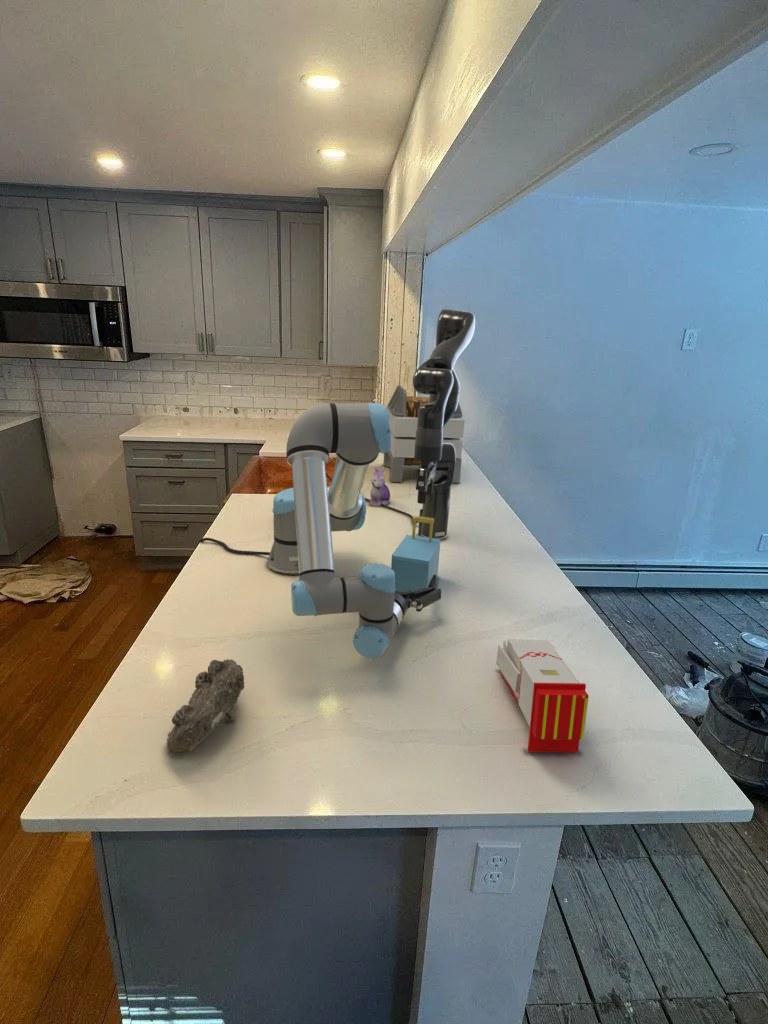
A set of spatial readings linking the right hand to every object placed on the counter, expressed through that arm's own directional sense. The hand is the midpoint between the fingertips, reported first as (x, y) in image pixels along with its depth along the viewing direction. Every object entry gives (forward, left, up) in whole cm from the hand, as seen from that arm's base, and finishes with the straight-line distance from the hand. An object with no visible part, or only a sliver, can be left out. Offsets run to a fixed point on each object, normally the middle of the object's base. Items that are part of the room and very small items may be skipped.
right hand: (424, 498), depth 160 cm
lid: (+2, -5, -14) cm, 15 cm away
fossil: (+2, -77, -24) cm, 81 cm away
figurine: (-48, +46, -24) cm, 71 cm away
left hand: (+5, -13, -18) cm, 22 cm away
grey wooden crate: (-60, +96, -24) cm, 116 cm away
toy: (+49, -35, -24) cm, 65 cm away
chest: (+2, -6, -24) cm, 25 cm away
